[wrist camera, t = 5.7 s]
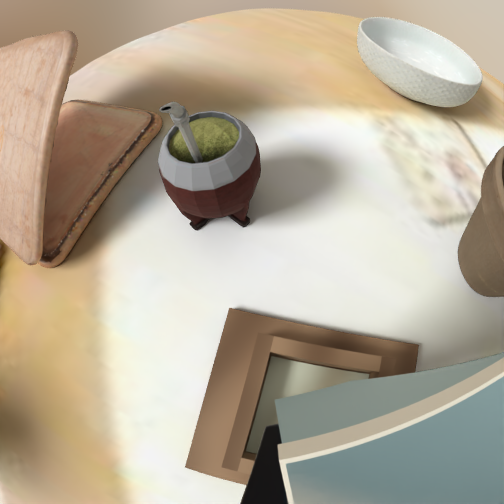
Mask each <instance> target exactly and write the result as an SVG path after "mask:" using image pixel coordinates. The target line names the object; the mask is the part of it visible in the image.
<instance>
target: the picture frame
mask: <svg viewBox="0 0 504 504" xmlns="http://www.w3.org/2000/svg"><path fill="white" fill-rule="evenodd" d="M418 347H419V345H417V344H410V343H403V342H397V341H391V340H384V339H378V338H372V337H367V336H361V335H355V334H350V333H344V332H339V331H334V330H329V329H324V328H318V327H313V326H309V325H304V324H299V323H294V322H289V321H285V320H280V319H276V318H271V317H267V316H262V315H258V314H254V313H249V312H245V311H241V310H237V309H232V308H229V311H228V315H227V318H226V322H225V325H224V329H223V332H222V336H221V340H220V343H219V347H218V350H217V354H216V357H215V361H214V364H213V368H212V372H211V375H210V379H209V382H208V386H207V390H206V393H205V397H204V400H203V404H202V408H201V411H200V415H199V418H198V422H197V426H196V429H195V433H194V437H193V440H192V444H191V448H190V451H189V455H188V458H187V462H186V466H185V467H186V468H189V469H192V470H195V471H198V472H201V473H204V474H207V475H211V476H214V477H218V478H221V479H225V480H228V481H232V482H236V483H240V484H244V485H247V483H248V480H249V477H250V474H251V471H252V467H253V464H254V461H255V458H256V455H257V452H258V449H259V445H260V442H261V439H262V436H263V432H264V429H265V427H266V426H268V425H273V424H279V423H278V417H277V411H276V406H275V399H280V398H285V397H290V396H294V395H299V394H303V393H307V392H311V391H315V390H319V389H323V388H327V387H331V386H334V385H338V384H341V383H345V382H348V381H353V380H363V379H372V378H380V377H388V376H395V375H402V374H408V373H414V372H415V368H416V362H417V355H418Z"/></svg>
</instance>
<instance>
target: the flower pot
mask: <svg viewBox="0 0 504 504" xmlns="http://www.w3.org/2000/svg"><path fill="white" fill-rule="evenodd" d="M458 260H459V265H460V269H461V272H462V274H463V276H464V278H465V280H466V281H467V283H468V284H469V285H470V287H471V288H472V289H473V290H474V291H476V292H477V293H479V294H481V295H483V296H487V297H502V296H504V146H503V147H502V148H501V149H500V150H499V151H498V152H497V153H496V155H495V157H494V158H493V160H492V161H491V162H490V164H489V165H488V166H487V168H486V170H485V172H484V175H483V179H482V185H481V199H480V201H479V203H478V205H477V207H476V209H475V211H474V213H473V215H472V216H471V218H470V221H469V223H468V225H467V227H466V229H465V231H464V233H463V235H462V238H461V240H460V243H459V247H458Z"/></svg>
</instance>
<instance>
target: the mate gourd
mask: <svg viewBox="0 0 504 504" xmlns="http://www.w3.org/2000/svg"><path fill="white" fill-rule="evenodd" d="M159 111H160V112H162V113H170V117H171V119H172V121H173V122H174V124H175V125H174V126H172V128H171V129H170V130H169V132H168V133H167V135H166V136H165V138H164V139H163V141H162V144H161V148H160V153H159V158H158V164H159V171H160V174H161V177H162V180H163V183H164V186H165V189H166V192H167V193H168V195H169V196H170V198H171V199H172V201H173V202H174V203H175V205H176V206H177V207H178V209H179V210H180V212H181V213H182V214H183V215H184V216H186V217H187V218H188V219H190V220H191V222H190V225H191V226H192V228H194V229H195V230H198V229H200V228H201V227H202V226H203V225H204V224H205V223H206V222H207V221H209V220H210V219H211V218H220V217H225V216H229V217H230V218H232V219H233V220H234V221H235V222H237V223H238V224H239V225H241V226H242V227H246V226H247V225H248V224H249V223H250V219H249V218H248V217H247V216H246V214H247V212H248V208H249V201H250V199H251V197H252V196H253V193H254V191H255V188H256V185H257V183H258V180H259V178H260V172H261V164H260V153H259V148H258V145H257V143H256V141H255V137H254V136H253V134H252V133H251V132H250V130H249V129H248V127H247V126H246V125H245V124H244V123H243V122H242V121H240V120H238V119H237V118H235V117H233V116H231V115H229V114H227V113H223V112H217V111H207V112H199V113H196V114H193V115H190V116H189V115H188V113H187V111H186V109H185V108H184V106H180V105H179V104H178V103H177V102H170V103H168V104H166V105H164V106H162V107H160V109H159Z"/></svg>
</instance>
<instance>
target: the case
mask: <svg viewBox="0 0 504 504" xmlns="http://www.w3.org/2000/svg"><path fill="white" fill-rule="evenodd" d="M77 47H78V41H77V37H76V35H75V34H74V33H73V32H71V31H68V30H65V31H58V32H54V33H49V34H45V35H39V36H33V37H29V38H26V39H22V40H20V41H18V42H15V43H13V44H10V45H7V46H4V47H1V48H0V238H1V240H2V241H3V242H4V243H5V244H6V245H7V246H8V247H9V248H10V249H11V250H12V251H13V252H14V253H15V254H16V255H17V256H18V257H19V258H20V259H21V260H22V261H24V262H25V263H26V264H29V265H35V264H37V263H39V264H40V265H41V266H43V267H46V268H52V267H55V266H57V265H59V264H60V263H61V262H62V261H63V260H64V259H65V258H66V257H67V255H68V254H69V252H70V251H71V249H72V248H73V246H74V245H75V243H76V241H77V240H78V238H79V236H80V235H81V234H82V232H83V230H84V229H85V227H86V226H87V224H88V223H89V221H90V219H91V218H92V217H93V215H94V214H95V212H96V211H97V210H98V208H99V207H100V205H101V204H102V202H103V201H104V200H105V198H106V197H107V195H108V194H109V193H110V191H111V190H112V188H113V187H114V186H115V184H116V183H117V182H118V180H119V179H120V178H121V177H122V175H123V174H124V173H125V171H126V170H127V169H128V168H129V167H130V165H131V164H132V163H133V161H134V160H135V159H136V158H137V157H138V156H139V154H140V153H141V152H142V151H143V150H144V148H145V147H146V146H147V145H148V144H149V143H150V141H151V140H152V139H153V138H154V137H155V136H156V135H157V134H158V132H159V131H160V129H161V127H162V118H161V117H160V115H158V114H157V113H155V112H151V111H146V110H141V109H134V108H129V107H123V106H117V105H110V104H104V103H98V102H91V101H84V100H71V101H68V102H66V103H64V104H62V101H63V97H64V94H65V91H66V89H67V84H68V80H69V76H70V73H71V70H72V67H73V64H74V61H75V58H76V54H77Z"/></svg>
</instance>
